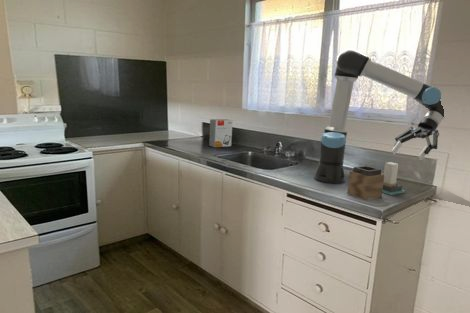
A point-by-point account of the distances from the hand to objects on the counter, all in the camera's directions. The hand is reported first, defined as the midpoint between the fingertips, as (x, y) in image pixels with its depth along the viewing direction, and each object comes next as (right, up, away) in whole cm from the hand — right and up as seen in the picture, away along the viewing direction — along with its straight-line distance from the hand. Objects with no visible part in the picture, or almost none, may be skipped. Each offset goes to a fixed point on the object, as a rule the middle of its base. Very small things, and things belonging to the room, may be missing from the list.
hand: (405, 155), depth 158 cm
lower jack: (-9, -16, -1) cm, 18 cm away
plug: (-8, -15, -1) cm, 18 cm away
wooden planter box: (-23, -17, -8) cm, 30 cm away
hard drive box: (-91, +7, +98) cm, 134 cm away
